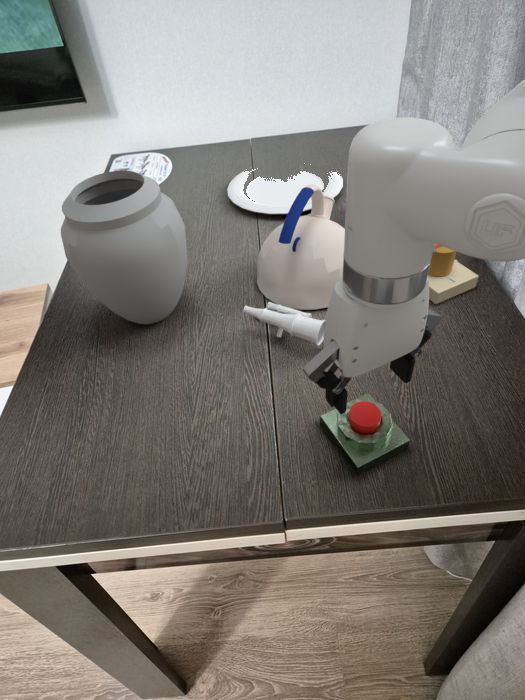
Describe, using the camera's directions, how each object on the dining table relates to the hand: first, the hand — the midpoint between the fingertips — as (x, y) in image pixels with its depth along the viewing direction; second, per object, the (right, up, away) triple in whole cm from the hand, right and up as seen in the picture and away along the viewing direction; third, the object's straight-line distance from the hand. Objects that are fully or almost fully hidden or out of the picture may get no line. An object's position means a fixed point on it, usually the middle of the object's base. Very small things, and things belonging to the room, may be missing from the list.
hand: (368, 389), depth 52 cm
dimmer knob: (+19, +19, +27) cm, 38 cm away
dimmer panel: (+19, +18, +29) cm, 39 cm away
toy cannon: (-8, +7, +23) cm, 25 cm away
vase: (-34, +12, +30) cm, 47 cm away
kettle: (-4, +19, +33) cm, 38 cm away
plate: (-7, +45, +59) cm, 74 cm away
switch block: (+1, -7, +7) cm, 10 cm away
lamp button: (+1, -5, +5) cm, 7 cm away
